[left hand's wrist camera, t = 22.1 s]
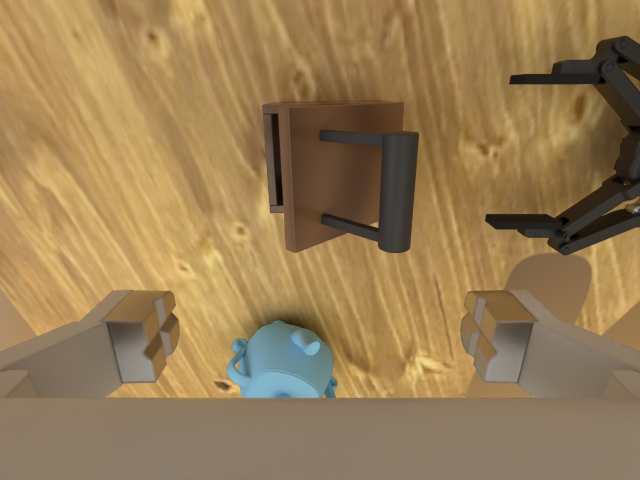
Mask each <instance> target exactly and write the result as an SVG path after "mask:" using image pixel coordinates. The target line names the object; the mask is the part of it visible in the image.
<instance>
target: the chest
mask: <svg viewBox="0 0 640 480" xmlns="http://www.w3.org/2000/svg"><path fill="white" fill-rule="evenodd" d="M369 103H390V102H389V101H338V102H287V103H271V104H265V105H262V107H263V120H264V134H265V148H266V162H267V176H268V190H269V204H270V213H284V205H283V188H282V170H281V153H280V135H279V118H278V108H282V107H303V106H325V105H347V104H369Z"/></svg>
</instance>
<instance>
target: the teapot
mask: <svg viewBox="0 0 640 480" xmlns="http://www.w3.org/2000/svg"><path fill="white" fill-rule="evenodd" d="M232 349H233V350H234V351H235V352H237V354H236V355H235V356H234V357H233V358H232V359H231V360H230V362H229V363H228V366H227V374H228V376H229V378H230V379H231V380H232V381H233V382H235V383H236V384H238V385H239V387H240V391H241V394H242V397H243V398H321V397H322V396H323V394H325V396H326V398H336V396H335V394H334V390H336V388H337V381H336V379H335V378H334V377H333V376H331V375H332V371H333V354H332V352H331V350H330V348H329V347H328V345H327V344H326V343H325V342H323V341H322V340H321V339H320V337H318V336H317V335H316V334H315V333H314V332H313V331H311V330H308V329H303V328H301V327H298V326H294V325H290V324H286V323H285V322H283V321H280V320H277V321H274V322H273V323H271V324H268V325H265V326H263V327H261V328H260V329H259V330H257V331H256V333H255V334H254V335H253V336H252V337H251V339H250V340H249V342H247V341H246V340H245V339H236V340H235V341H234V342H233V344H232ZM240 359H241V360H240ZM239 360H240V364H239V370H237V369H236V367H235V364H236V363H237V362H238V361H239Z"/></svg>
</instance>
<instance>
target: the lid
mask: <svg viewBox="0 0 640 480" xmlns="http://www.w3.org/2000/svg"><path fill="white" fill-rule="evenodd" d="M403 110H404V102H390V103H369V104H347V105H325V106H303V107H282V108H278V118H279V135H280V153H281V170H282V188H283V205H284V223H285V240H286V249H287V250H289V251H292V252H294V253H297V252H299V251H302V250H304V249H307V248H310V247H312V246H315V245H318V244H320V243H323V242H325V241H328V240H331V239H333V238H336V237H338V236H341V235H344V234H346V233H351V234H354V235H357V236H361V237H364V238H367V239H370V240H373V241H376V242H378V247H379V249H381V250H383V251H385V252H390V253H402V252H406V251H408V250H409V249H410V242H411V229H412V216H413V204H414V191H415V178H416V165H417V153H418V140H419V133H417V132H408V131H402V126H403ZM377 221H379V228H376V227H372V226H369V225H370V224H372V223H375V222H377Z"/></svg>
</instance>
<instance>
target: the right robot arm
mask: <svg viewBox="0 0 640 480" xmlns="http://www.w3.org/2000/svg"><path fill="white" fill-rule="evenodd" d="M622 70H624V71H625V72H627V73H628V74H630V75H631V76H633V77H635V78H636V79H638V80H639V81H640V44H638V43H637V42H635V41H634V40H632V39H631V38H629V37H628V36H622V37H616V38H611V39H606V40H602V41H600V42H599V43H598V44H597V46H596V54H595V55H594V57H593V58H592V59H590V60H565V61H559V62H557V63H554V64H553V68H552V73H551V74H522V75H512V76H511V77H510V83H509V84H593V85H594V86H595V88H596V89H597V90H598V91H599V92H600V94H601V95H602V96H603V97H604V98H605V100H606V101H607V102H608V103H609V104H610V106H611V107H612V108H613V109H614V110H615V112H616V113H617V114H618V115H619V116H620V118H621V119H622V120H621V123H622V124H623V125H624V127H625V128H626V129H627V130H628V131H629V134H628V135H627V137H626V138H623V139H622V142H621V146H620V155H619V157H618V159H617V161H616V163H615V166H614V169H613V170H616V174H615V175H613V176H612V177H610V178H609V179H607V180H606V181H604V182H603V183H602V187H600V188H599V189H597V190H596V191H594V192H593V193H591V194H590V195H588V196H587V197H585V198H584V199H582V200H581V201H579V202H578V203H576V204H575V205H573V206H572V207H570V208H569V209H567V210H566V211H564V212H563V213H561V214H560V215H558V216H557V217H555V218H553V217H551V216H549V215H547V214H486V218H485V221H486V222H487V223H489V224H490V225H491V226H492V227H494V228H495V229H518V232H519V233H521V234H522V235H524V236H526V237H528V238H549V240H548V245H549V246H550V247H552V248H553V249H555V250H556V251H558V252H559V253H561V254H563V255H569V254H571V253H574V252H576V251H579V250H581V249H583V248H586V247H588V246H591V245H593V244H596V243H598V242H601V241H603V240H606V239H608V238H611V237H613V236H616V235H618V234H621V233H623V232H626V231H628V230H631V229H633V228H635V227H640V197H639V199H638V201H637V202H635V203H633V204H627V205H625V207H624V208H625V209H620V210H616V211H613V212H611V213H608V214H606V215H604V214H605V213H607V212H609V211H610V210H612V209H613V208H615V207H616V206H618V205H619V204H621V203H622V202H624V201H628V200H633V199H635V198H636V197H638V196H640V92H639V91H638V90H637V88H636V87H635V86H634V84H633V83H632V82H631V81H630V79H629V78H628V77H627V76H626V74H625V73H624V72H623V71H622ZM624 183H625V184H626V185H627V186H626V185H623V184H624ZM602 215H603V216H602Z"/></svg>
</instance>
